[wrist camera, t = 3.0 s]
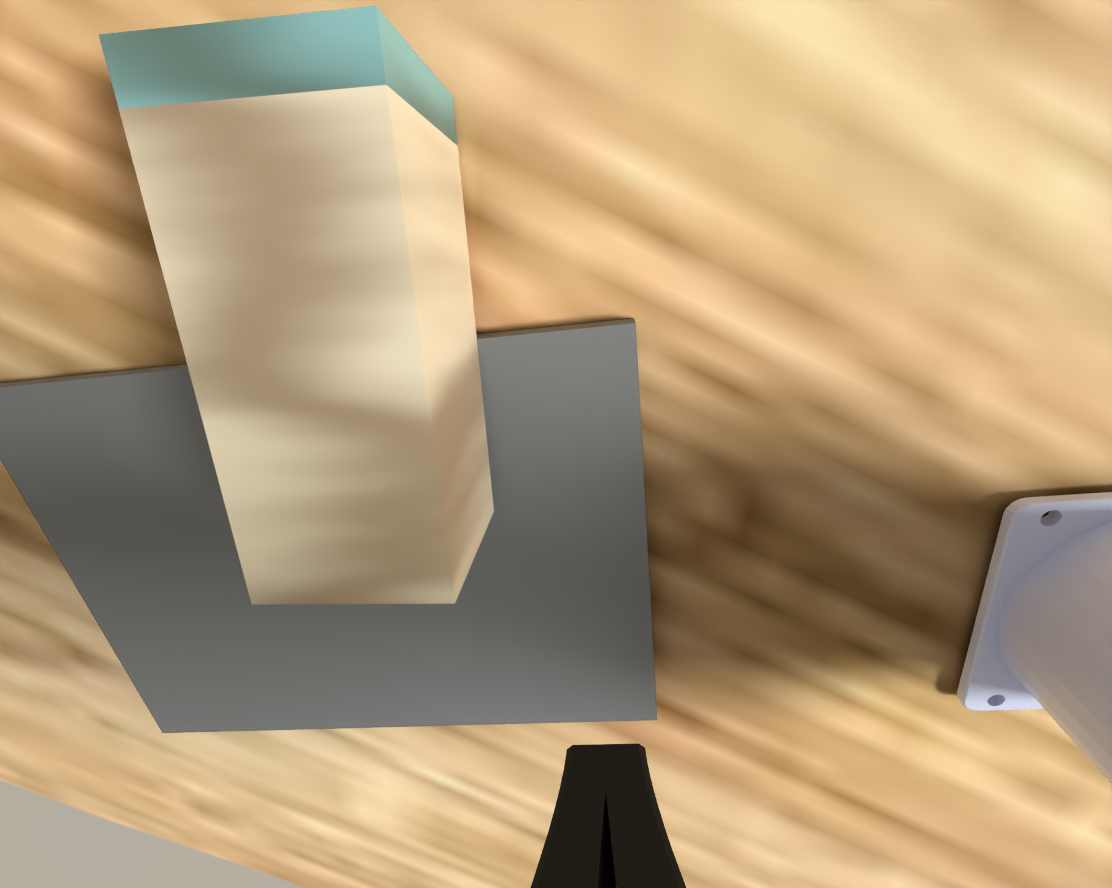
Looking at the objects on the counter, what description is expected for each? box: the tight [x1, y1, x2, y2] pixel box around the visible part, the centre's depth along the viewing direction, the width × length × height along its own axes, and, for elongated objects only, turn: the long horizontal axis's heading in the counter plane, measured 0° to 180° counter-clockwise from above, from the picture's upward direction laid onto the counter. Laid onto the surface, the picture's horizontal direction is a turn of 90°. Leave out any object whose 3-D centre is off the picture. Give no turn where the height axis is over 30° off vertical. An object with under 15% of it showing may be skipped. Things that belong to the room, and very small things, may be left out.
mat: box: [0, 318, 657, 733], centre depth 17 cm, size 19×14×1 cm
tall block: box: [99, 6, 494, 604], centre depth 12 cm, size 4×4×10 cm
